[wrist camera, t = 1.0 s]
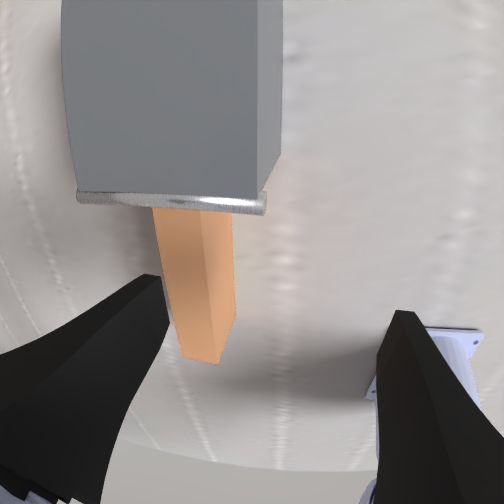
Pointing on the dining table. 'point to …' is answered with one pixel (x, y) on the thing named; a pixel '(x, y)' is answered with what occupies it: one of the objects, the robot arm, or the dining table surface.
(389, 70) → the dining table surface
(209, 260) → the orange rectangular bar
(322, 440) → the dining table surface
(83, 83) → the grey plain boxy block
